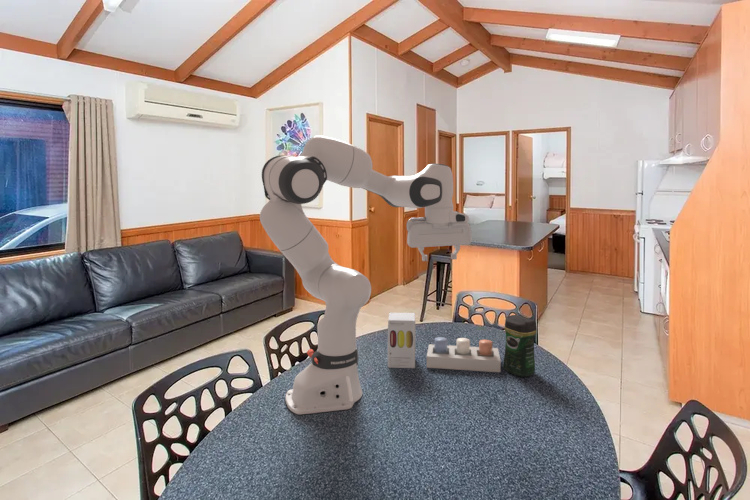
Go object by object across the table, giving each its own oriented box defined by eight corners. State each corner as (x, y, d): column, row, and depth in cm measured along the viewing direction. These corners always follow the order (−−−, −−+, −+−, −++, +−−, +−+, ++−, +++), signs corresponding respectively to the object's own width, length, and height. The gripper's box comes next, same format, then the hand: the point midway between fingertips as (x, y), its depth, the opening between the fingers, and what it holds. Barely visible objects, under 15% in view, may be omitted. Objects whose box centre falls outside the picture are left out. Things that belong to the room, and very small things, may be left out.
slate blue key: (434, 352, 150) (434, 341, 149) (434, 347, 154) (434, 336, 153) (447, 353, 149) (447, 342, 148) (447, 348, 153) (447, 337, 153)
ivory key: (456, 353, 148) (456, 342, 148) (456, 348, 153) (456, 337, 152) (469, 354, 147) (469, 342, 147) (469, 349, 152) (469, 338, 151)
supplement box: (387, 368, 148) (386, 320, 145) (388, 357, 157) (387, 311, 154) (415, 368, 147) (415, 320, 144) (415, 357, 156) (415, 311, 153)
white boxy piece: (426, 367, 148) (426, 356, 147) (428, 354, 158) (428, 344, 158) (500, 372, 143) (500, 360, 142) (497, 358, 154) (497, 348, 153)
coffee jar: (539, 374, 142) (541, 318, 139) (522, 380, 137) (524, 323, 135) (515, 363, 150) (517, 311, 147) (498, 369, 146) (500, 315, 143)
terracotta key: (479, 355, 147) (479, 343, 146) (478, 350, 151) (478, 339, 150) (492, 356, 146) (493, 344, 145) (491, 350, 150) (492, 339, 150)
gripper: (408, 218, 133) (409, 263, 135) (473, 216, 135) (473, 260, 137) (404, 217, 139) (405, 259, 141) (466, 214, 141) (466, 256, 143)
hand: (439, 259), depth 139 cm, fingers open, 8 cm apart
